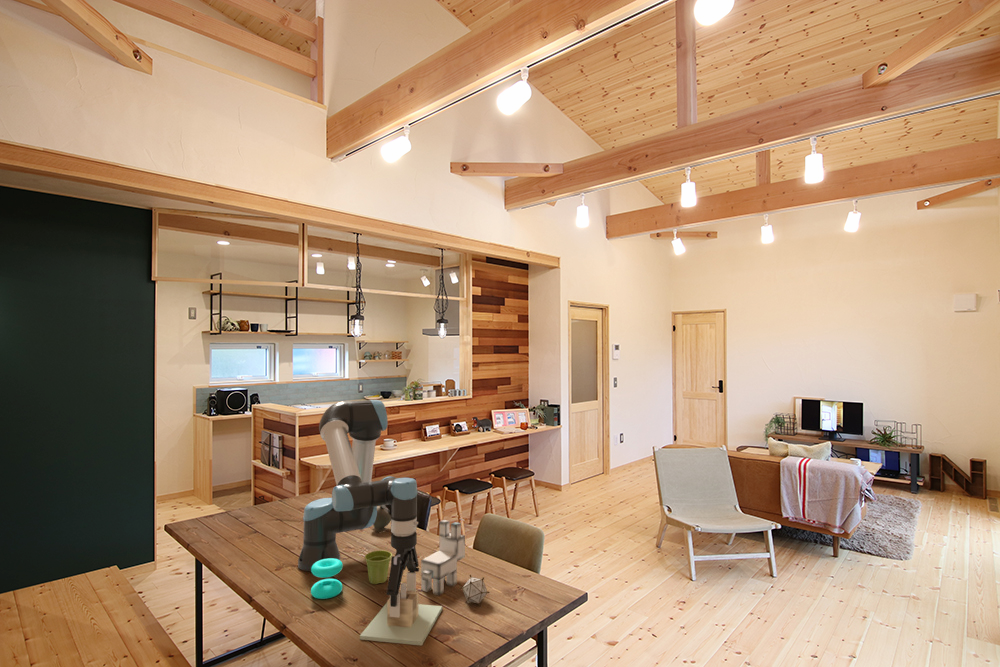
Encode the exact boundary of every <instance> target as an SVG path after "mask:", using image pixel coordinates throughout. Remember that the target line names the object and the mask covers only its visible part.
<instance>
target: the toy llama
mask: <svg viewBox="0 0 1000 667" xmlns="http://www.w3.org/2000/svg"><path fill="white" fill-rule="evenodd" d="M465 557H466V535H463V534H462V523H461V522H456V521H454V522H452V523H450V520H446V519H443V520H440V521H439V550H438V551H435V552H434V553H432V554H429V555H428V556H426V557H424V558H423V559H421V565H420V566H421V570H420V571H421V572H420V574H421V576H420V578H421V579H420V582H421V583H420V584H421V585H420V586H421V588H420V590H421V591H423V592H426V593H427V592H429V591H431V590H432V594H433V595H437V596H441V595H443V594H444V593H445V592H444V583H445V582H446V586H449V587H451V588H452V587H454V586H456V585H457V584H458V582H457V578H458V576H457V574H458V571H457V570H458V568H457V567H458V565H457V564H458V562H459V561H460V560H462V559H464V558H465Z"/></svg>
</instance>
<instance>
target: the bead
mask: <svg viewBox="0 0 1000 667" xmlns="http://www.w3.org/2000/svg"><path fill="white" fill-rule="evenodd" d="M399 593H400V617H399V618H398V617H390V597H389V598H388V599H387V602H388V605H387V625H389V626H400V627H411V626H412V624H413V623H414V621H415V620H416V618H417V617H418V604H419V597H420V596H419V591H417V590H416V591H407V590H406V599H401V589H399Z"/></svg>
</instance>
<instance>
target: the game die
mask: <svg viewBox="0 0 1000 667" xmlns="http://www.w3.org/2000/svg"><path fill="white" fill-rule="evenodd" d="M484 580H485V577H482V578H478V577H475V576H474V577H473V576H472V575H471V574H469V578H468V580H467V581H466V582H465V584H464V585H463V586H461V587H459V589H460V590H462V592H463V594H464V597H465V600H466V601H465V604H467V603H468V602H469V603H473V604H478V606H479V607H481V603H482V600H483V599H484V597H486V595H487V594H490V593H491V592H490V591H489V590H487V587H486V584H485V582H484Z"/></svg>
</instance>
